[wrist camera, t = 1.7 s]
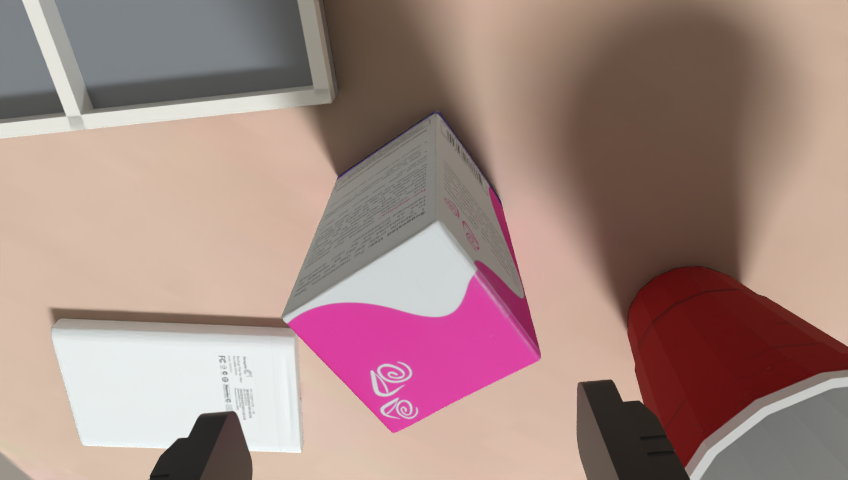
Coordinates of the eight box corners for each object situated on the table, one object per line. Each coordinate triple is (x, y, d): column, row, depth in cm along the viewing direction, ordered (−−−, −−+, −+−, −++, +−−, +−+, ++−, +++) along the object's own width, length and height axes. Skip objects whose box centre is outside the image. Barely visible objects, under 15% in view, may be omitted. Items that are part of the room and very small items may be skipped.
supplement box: (332, 178, 27) (271, 316, 16) (437, 106, 25) (446, 207, 15) (404, 269, 29) (392, 442, 18) (506, 207, 27) (555, 357, 17)
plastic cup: (795, 370, 31) (990, 586, 20) (597, 411, 33) (681, 634, 22) (795, 191, 27) (1045, 347, 16) (565, 247, 28) (652, 426, 17)
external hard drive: (66, 311, 31) (300, 321, 31) (96, 428, 34) (306, 436, 34) (47, 328, 29) (293, 339, 29) (81, 449, 33) (300, 458, 33)
